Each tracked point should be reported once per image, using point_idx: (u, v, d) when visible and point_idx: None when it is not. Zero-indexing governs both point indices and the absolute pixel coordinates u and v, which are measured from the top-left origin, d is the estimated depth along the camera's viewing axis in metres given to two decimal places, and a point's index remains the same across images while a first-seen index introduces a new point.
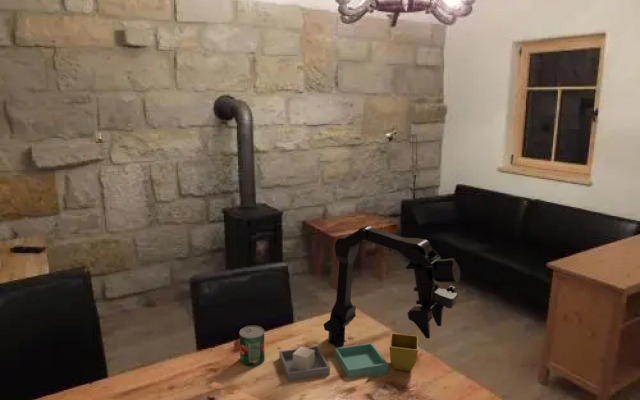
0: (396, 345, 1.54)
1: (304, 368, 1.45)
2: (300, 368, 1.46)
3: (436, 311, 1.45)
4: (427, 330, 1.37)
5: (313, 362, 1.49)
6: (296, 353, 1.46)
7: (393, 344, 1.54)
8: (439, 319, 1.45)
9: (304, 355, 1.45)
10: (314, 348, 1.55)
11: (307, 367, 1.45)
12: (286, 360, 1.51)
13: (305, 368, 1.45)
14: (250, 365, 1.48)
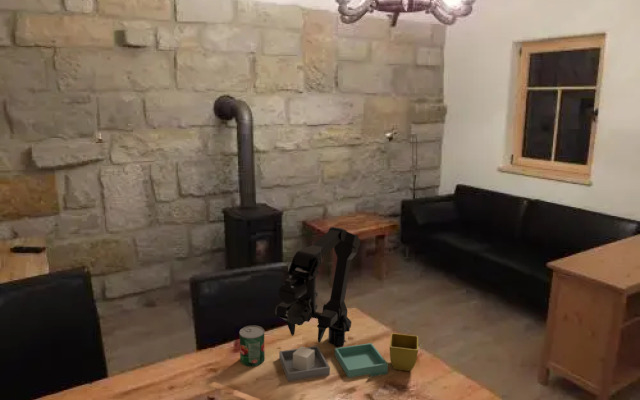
0: (396, 345, 1.54)
1: (304, 368, 1.45)
2: (300, 368, 1.46)
3: None
4: None
5: (313, 362, 1.49)
6: (296, 353, 1.46)
7: (393, 344, 1.54)
8: None
9: (304, 355, 1.45)
10: (314, 348, 1.55)
11: (307, 367, 1.45)
12: (286, 360, 1.51)
13: (305, 368, 1.45)
14: (250, 365, 1.48)
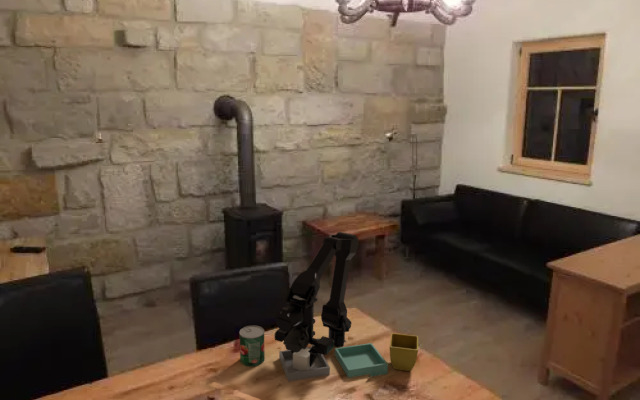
0: (396, 345, 1.54)
1: (304, 368, 1.45)
2: (300, 368, 1.46)
3: None
4: None
5: None
6: (296, 353, 1.46)
7: (393, 344, 1.54)
8: None
9: (304, 355, 1.45)
10: None
11: (307, 367, 1.45)
12: (286, 360, 1.51)
13: (305, 368, 1.45)
14: (250, 365, 1.48)
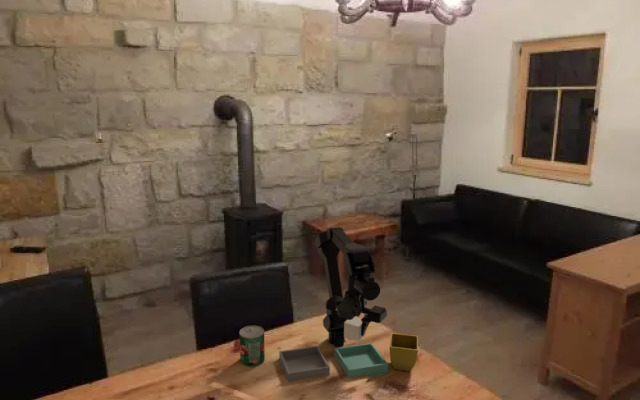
0: (396, 345, 1.54)
1: (356, 337, 1.45)
2: (351, 337, 1.46)
3: None
4: None
5: None
6: (347, 322, 1.46)
7: (393, 344, 1.54)
8: None
9: (356, 324, 1.45)
10: (314, 348, 1.55)
11: (359, 336, 1.45)
12: (286, 360, 1.51)
13: (356, 338, 1.45)
14: (250, 365, 1.48)
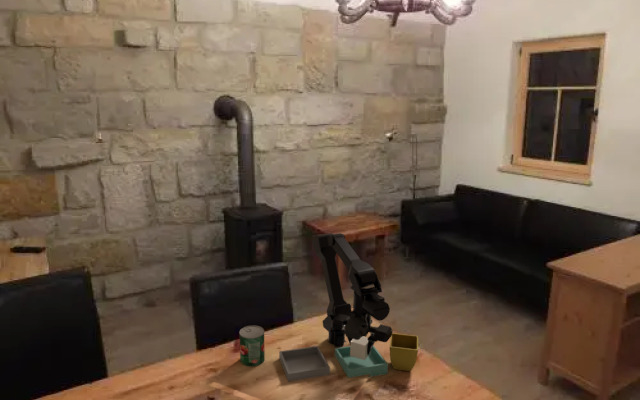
0: (396, 345, 1.54)
1: (362, 356, 1.47)
2: (358, 356, 1.48)
3: None
4: None
5: None
6: (354, 341, 1.48)
7: (393, 344, 1.54)
8: None
9: (362, 343, 1.47)
10: (314, 348, 1.55)
11: (365, 355, 1.47)
12: (286, 360, 1.51)
13: (363, 356, 1.47)
14: (250, 365, 1.48)
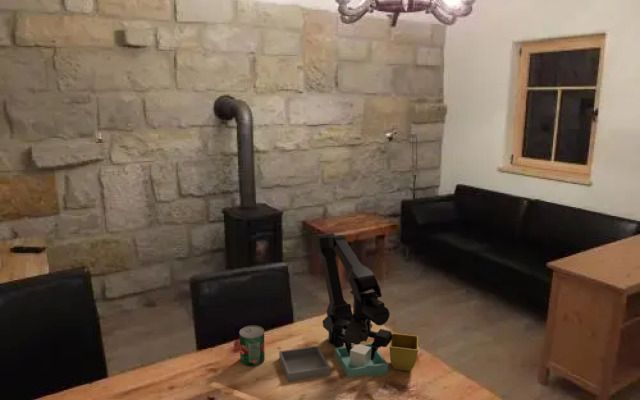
0: (396, 345, 1.54)
1: (362, 365, 1.47)
2: (357, 365, 1.48)
3: None
4: None
5: (369, 359, 1.51)
6: (353, 350, 1.49)
7: (393, 344, 1.54)
8: None
9: (362, 352, 1.48)
10: (314, 348, 1.55)
11: (365, 364, 1.47)
12: (286, 360, 1.51)
13: (363, 365, 1.47)
14: (250, 365, 1.48)
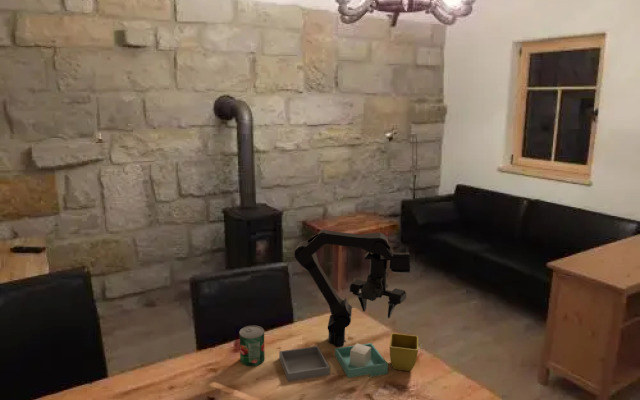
0: (396, 345, 1.54)
1: (362, 365, 1.47)
2: (357, 365, 1.48)
3: None
4: None
5: (369, 359, 1.51)
6: (353, 350, 1.49)
7: (393, 344, 1.54)
8: None
9: (362, 352, 1.48)
10: (314, 348, 1.55)
11: (365, 364, 1.47)
12: (286, 360, 1.51)
13: (363, 365, 1.47)
14: (250, 365, 1.48)
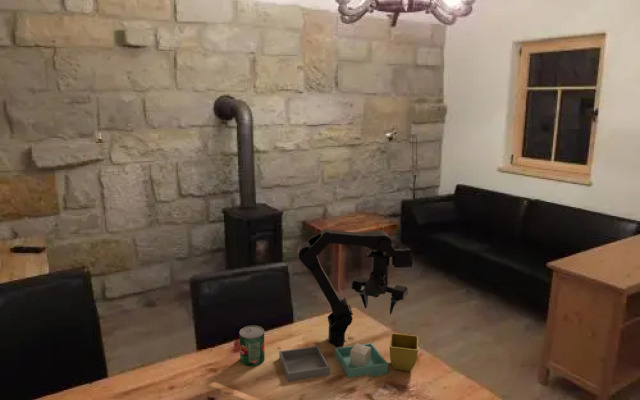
0: (396, 345, 1.54)
1: (362, 365, 1.47)
2: (357, 365, 1.48)
3: None
4: None
5: (369, 359, 1.51)
6: (353, 350, 1.49)
7: (393, 344, 1.54)
8: None
9: (362, 352, 1.48)
10: (314, 348, 1.55)
11: (365, 364, 1.47)
12: (286, 360, 1.51)
13: (363, 365, 1.47)
14: (250, 365, 1.48)
